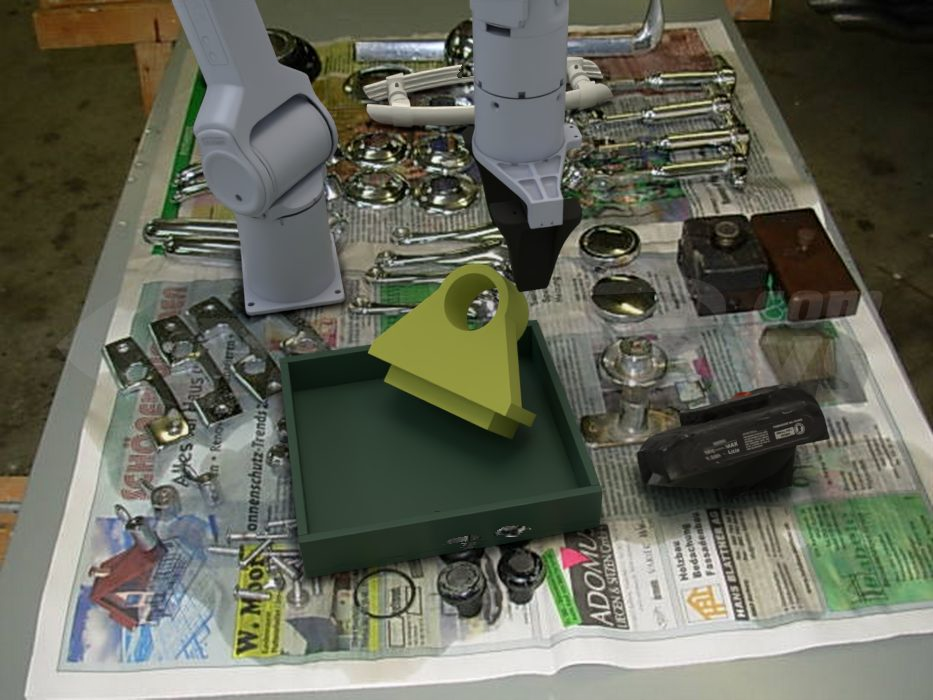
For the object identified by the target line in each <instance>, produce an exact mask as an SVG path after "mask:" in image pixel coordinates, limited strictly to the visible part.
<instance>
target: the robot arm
mask: <svg viewBox="0 0 933 700" xmlns="http://www.w3.org/2000/svg"><path fill="white" fill-rule="evenodd" d="M171 2H172V5H173V8H174V10H175V13H176V15H177V17H178V19H179V22H180V24H181V26H182V29H183V32H184V34H185V36H186V38H187V41H188V43H189V45H190V49H191V50H192V53H193V55H194V58H195V60H196V62H197V65H198V66H199V69H200V72H201V75H202V76H203V79H204V81H205V84H206V91H205V94H204V97H203V99H202V103H201V104H200V107H199V110H198V113H197V115H196V117H195V121H194V124H193V127H192V132H193V134H194V136H195V138H196V141H197V143H198V147H199V150H200V155H201V156H200V157H201V169H202V174H203V177H204V181H205V183H206V185H207V187H208V188H209V190H210V192H211V193H212V194H213V196H214V197H215V198H216V199H217V201H218V202H220V203H221V204H222V205H223V206H224V207H226V208H227V209H229V210H230V211H232V212H233V213H234V214H233V215H234V218H235V223H236V228H237V233H238V238H239V243H240V256H241V268H242V283H243V294H244V308H245V313H246V315H248V316H258V315H265V314H271V313H279V312H285V311H286V312H287V311H292V310H300V309H307V308H314V307H320V306H327V305H335V304H341V303H343V302H344V301H345V299H346V295H345V291H344V284H343V279H342V273H341V268H340V263H339V257H338V253H337V252H338V251H337V248H336V242H335V236H334V233H332V232H331V230H330V223H329V222H330V221H329V213H328V206H327V201H326V199H327V198H326V193H325V186H324V185H325V183H324V181H325V178H327V176H328V169H327V161H328V162H329V160H331V159H332V157H334V155H335V153H336V151H337V149H338V146H339V133H338V128H337V126H336V123H335V121H334V119H333V117H332V115H331V114H330V112H329V110H328V109H327V107H325V105H324V104H323V102H322V101H321V100H320V99H319V97H318V96H317V95H316V93H315V91H314V89H313V86H312V83H311V81H310V78H309V76H308V74H307V73H305V72H303V71H301V70H298V69H294V68H292V67H290V66H287V65H284V64H282V63H280V62H279V60H278V58H277V55H276V53H275V50H274V47H273V44H272V42H271V39H270V37H269V34H268V31H267V29H266V26H265V23H264V20H263V18H262V16H261V13H260V10H259V7H258V5H257V2H256V0H171ZM469 10H471V16H472V17H471V20H472V21H471V23H472V25H471V26H472V63H473V68H474V81H473V102H474V103H473V105H474V111H475V124H474V125H472V126H469V127H466V128H465V129H463V131H462V133H461V137H462V139H463V142H464V145H465V147H466V149H467V150H468V152H469V154H470V156H471V157H472V159H473V160H474V162H475V165H476V167H477V171H478V173H479V176H480V180H481V185H482V189H483V194H484V198H485V203H486V207H487V211H488V214H489V217H490V221H491V222H492V224H493V227H496V229H497V230H498V231H499V233H500V235H501V236H502V238H503V239H504V241H505V244H506V248H507V253H508V258H509V265H510V271H511V276H512V278H513V282H514V284H515V285H516V287H517V289H518V292H523V293H525V292H531V291H539V290H545V289H547V288H548V287H549V284H550V282H551V279H552V277H553V273H554V270H555V268H556V265H557V262H558V259H559V256H560V254H561V251H562V249H563V247H564V245H565V243H566V242H567V240H568V239H569V237H570V236H571V234H572V233H573V231H575V229H576V228H577V227H578V226H579V225H580V224H581V222H582V219H583V208H582V206H581V204H580V201H579V200H578V198H577V197H569V198H564V197H563V194H562V190H561V186H562V180H563V174H564V169H565V163H566V156H567V152H568V151H570V150H575V149H576V150H577V149H579V148H581V147H582V145H583V135H582V133H581V132H580V129H579V127H578V126H576V125H575V124H572V123H566V124H565V122H566V121H565V119H566V118H565V117H566V111H565V95H566V92H567V84H566V74H567V57H568V46H569V45H568V44H569V43H568V41H569V20H570V19H569V18H570V17H569V15H570V0H469Z"/></svg>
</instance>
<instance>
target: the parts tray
mask: <svg viewBox="0 0 933 700" xmlns="http://www.w3.org/2000/svg"><path fill="white" fill-rule="evenodd" d="M480 328H481V327H478V328H469V330H470V331H474V330H477V329H480ZM371 345H372V343H370V344H365V345H357V346H350V347H344V348H338V349H330V350H324V351H317V352H311V353H305V354H297V355H291V356H284V357H279V359H278V360H279V369H280V370H279V371H280V380H281V389H282V398H283V408H284V418H285V425H286V426H285V427H286V434H287V435H286V436H287V445H288V454H289V463H290V464H289V465H290V473H291V481H292V490H293V492H292V493H293V500H294V511H295V519H296V528H297V536H298V546H299V549H300V554H301V559H302V564H303V570H304V576H305V579H311V578H317V577H322V576H328V575H334V574H340V573H345V572H351V571H358V570H362V569H369V568H374V567H380V566H385V565H391V564H396V563H397V564H398V563H401V562H409V561H414V560H420V559H425V558H432V557H436V556H437V557H438V556H442V555H448V554H453V553H459V552H464V551H465V552H466V551H467V550H463V549H464V548H460V547H465V546H463V545H464V544H461V543H467V542H476V543H475V544H476V545H472V546H475V547H473V548H475V549H474V550H476V549H477V550H478V549H482V548H483V549H484V548H487V547H494V546H499V545H505V544H511V543H517V542H522V541H528V540H533V539H539V538H544V537H551V536H556V535H562V534H567V533H573V532H580V531H584V530H585V531H586V530H590V529H596V528H600V527H601V518H602V517H601V515H602V506H603V505H602V503H603V493H604V490H603V488H602V485H601V483H600V479H599V477H598V475H597V472H596V470H595V466H594V464H593V462H592V460H591V457H590V454H589V451H588V449H587V446H586V443H585V441H584V438H583V436H582V433H581V430H580V427H579V425H578V422H577V420H576V417H575V414H574V412H573V410H572V406H571V404H570V401H569V398H568V396H567V394H566V391H565V388H564V386H563V383H562V381H561V378H560V376H559V372H558V369H557V368H556V365H555V362H554V360H553V357H552V354H551V351H550V349H549V347H548V344H547V342H546V339H545V336H544V334H543V331H542V329H541V326H540V323H539V321H538V319H531V320H528V323H527V326H526V329H525V331H524V333H523V335H522V336H521V337H520V339H519V340H518V341H517V352H518V365H519V378H520V391H521V404H522V408H523V409H525V410H527V411H530V412H532V413H534V414H536V417H535V419H534V422H533V424H532V426H531V427H529V426H527V425H525V424H522V423H519V425H518V428H517V430H516V432H515V434H514V437H513V439H510V438H507V437H505V436H502V435H499V434H497V433H494V432H492V431H489V430H487V429H484V428H482V427H480V426H478V425H476V424H474V423H472V422H470V421H467V420H465V419H463V418H461V417H459V416H457V415H455V414H452V413H450V412H448V411H446V410H444V409H442V408H440V407H438V406H435V405H433V404H431V403H429V402H427V401H425V400H423V399H421V398H418V397H416V396H414V395H412V394H410V393H408V392H406V391H403V390H401V389H399V388H397V387H395V386H393V385H391V384H389V383H386V382H384V380H385V378H386V375H387V373H388V371H389V369H390V367H391V363H388V362H386V361H384V360H382V359H380V358H378V357H375V356H373V355H371V354H369V353H368V351H369V349H370V347H371ZM435 511H440V512H435ZM513 525H514V526H517V525H519V526H528V527H529V528H531V529H532V530H526V531H522V532H523V533H520V534H521V535H518V537H505V535H498V536H494V533H495V532H497V530H499V529H501V528H502V527H505V526H513ZM468 535H476V536H479V537H481V538H480V539H475V540H473V541H466V542H465V541H463V542H458V543H452V544H446V545H442V544H443V543H445V542H446V541H448V540H450V539H453V538H458V537H464V536H468ZM467 544H468V543H467Z"/></svg>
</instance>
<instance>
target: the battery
mask: <svg viewBox="0 0 933 700" xmlns="http://www.w3.org/2000/svg"><path fill="white" fill-rule="evenodd" d="M678 414H679V423H680V426H677V427H673V428H669V429H666V430H663V431H659V432H657V433H655V434H653V435H651V436H650V437H647V439H645V441H643V443H642V445H641V446H640V448H639V450H638V451H637V452H636V459H637V464H638V468H639V473H640V476H641V480H642V484H643V485H650V486H659V487H671V488H673V487H674V488H692V489H693V488H694V489H695V488H696V489H715V490H716V489H717V490H718V489H719V490H720V492H721V493H722V495H723V497H724V498H725V500H726V501H730V500H732V499H735V498H740V497H742V496H745V495H751V494H755V493H763V492H766V491H768V492H771V493H776V492H780V490H783V489H788V488H793V481H794V479H793V478H794V468H795V460H796V459H795V458H796V451H797V447H798V446H803V445H808V444H813V443H818V442H823V441H826V440H827V441H828V440H830V433H829V430H828V424H827V421H826V417H825V415H824V412H823V410H822V408H821V406H820V404H819V402H818V401H817V399H816V397H815V396H814V395H813V394H812V393H811V392H809V391H807V390H806V389H804V388H802V387H800V386H797V385H791V384H783V383H780V384H773V385H769V386H768V385H767V386H762V387H757V388H753V389H752V390H749V391H743V390H741V391H738V392H736V393H735V394H734V395H733V396H732V397H729V398H728V399H724V400H721V401H718V402H713V403H710V404H707V405H703V406H702V405H701V406H698V407H696V408H689V409H685V410H683V411H681V412H678Z"/></svg>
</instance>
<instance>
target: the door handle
mask: <svg viewBox="0 0 933 700" xmlns="http://www.w3.org/2000/svg"><path fill="white" fill-rule="evenodd" d="M461 66H462V64H456V65H448V66H443V67H438V68H433V69H427V70H421V71H417V72H413V73H408V74H404V72H399V73H396V74H393V75H389V76H386V77H385V79H383V80H380V81H377V82H374V83H371V84H367V85H363V86H362V90H363V92H364V95H365V96H366V97H367V98H368V99H370V100H373V101H376V102H377V101H378V102H379V101H383V100H386V99H387V101H388V103H389V105H387V104H376V103H374V104H373V103H367V105H366V113H367V114H368V116H369V118H371V119H372V120H373V121H375V122H376V123H380V124H383V125H392V126H393V127H401V128H413V126H433V127H434V126H462V125H464V126H465V125H475V111H474V104H471V105H454V106H451V105H450V106H449V105H447V106H446V105H445V106H411V102H410V99H409V97H408V94H409V93H414V92H418V91H423V90H427V89H433V88H439V87H443V86H444V87H445V86H450V85H456V84H457V85H458V84H463V83H471V82H474V76H470V77H462V78H458V77H457V74H458V73H459V72H460V71H459V69H461ZM590 79H598V80H599V79H600V80H601V79H602V80H603V79H604V76H603V74H602V71H601V69H600V68H599V66H598V65H597V63H595V62H594V61H593V60H590V59H585V58H584V57H582V56H567V74H566V85H567V84H569V85H570V87H571V89H572V90H568V91H566V95H565V112H567V111H571V110H575V109H577V112H578V111H583V110H585V109H589V108H593V107H595V106H596V104H597V103H600V102H603V101H607V100H610V99H612V98H614V95H613V93H612V91H611V89H610V87H608V85H606V84H603V83H596V81H595V80H590Z"/></svg>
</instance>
